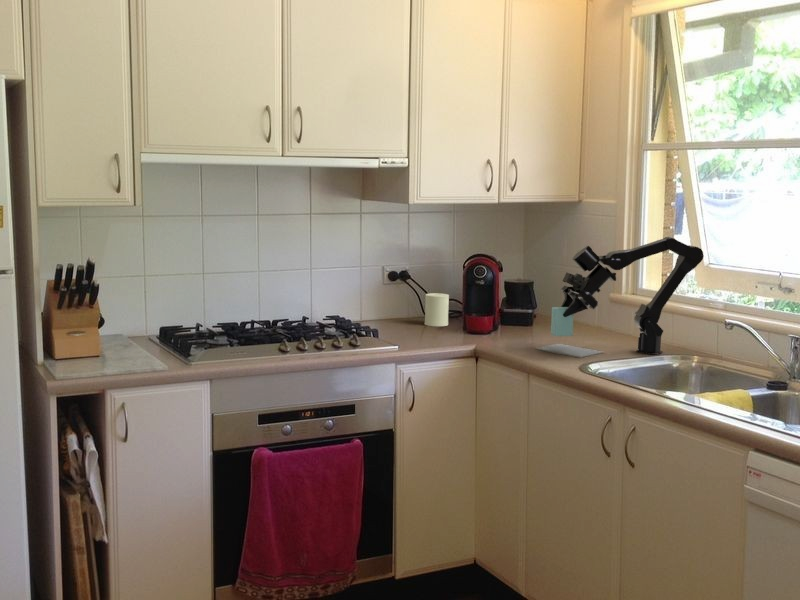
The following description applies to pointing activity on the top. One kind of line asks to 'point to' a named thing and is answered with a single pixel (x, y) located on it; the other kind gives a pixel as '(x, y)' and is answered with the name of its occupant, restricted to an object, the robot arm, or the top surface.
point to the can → (436, 309)
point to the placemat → (569, 350)
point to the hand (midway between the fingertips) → (561, 315)
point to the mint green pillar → (561, 322)
